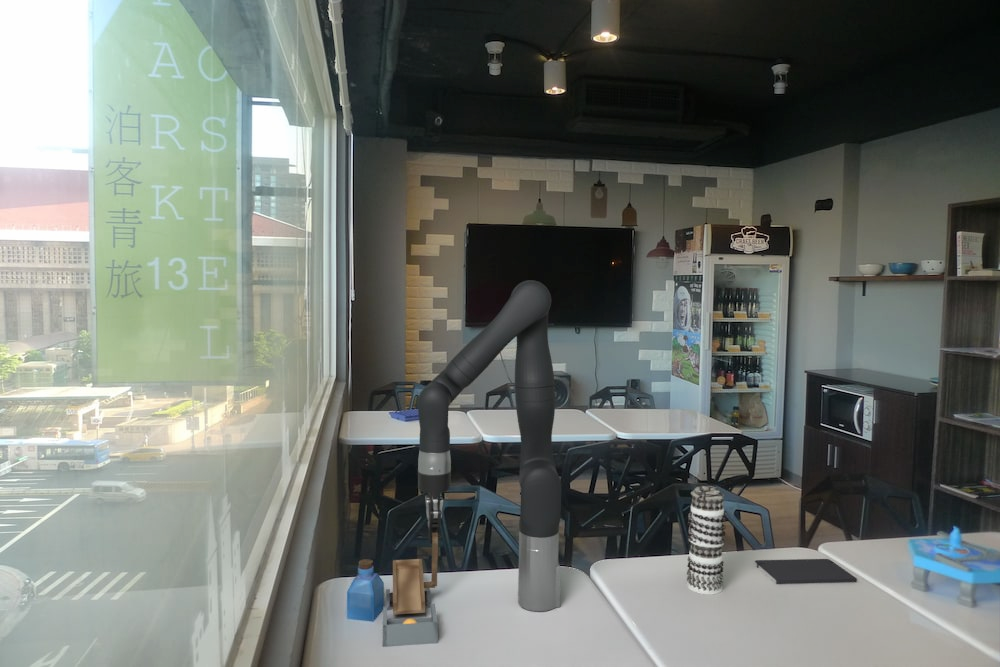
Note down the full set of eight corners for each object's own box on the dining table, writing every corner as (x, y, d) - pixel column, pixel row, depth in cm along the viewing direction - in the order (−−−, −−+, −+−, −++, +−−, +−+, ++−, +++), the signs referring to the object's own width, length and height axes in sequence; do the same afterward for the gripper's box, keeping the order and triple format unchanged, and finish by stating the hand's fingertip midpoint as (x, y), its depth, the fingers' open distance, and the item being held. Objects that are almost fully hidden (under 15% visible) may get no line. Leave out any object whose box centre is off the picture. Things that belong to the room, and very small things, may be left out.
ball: (418, 634, 145) (418, 616, 146) (418, 639, 142) (418, 620, 142) (401, 635, 145) (401, 617, 145) (401, 640, 141) (401, 621, 142)
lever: (434, 568, 168) (435, 515, 165) (439, 611, 152) (440, 554, 148) (392, 570, 166) (392, 517, 163) (392, 614, 150) (393, 556, 147)
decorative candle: (731, 593, 167) (735, 492, 165) (697, 597, 164) (701, 494, 163) (711, 578, 176) (714, 482, 174) (678, 581, 173) (681, 484, 172)
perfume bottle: (373, 621, 150) (373, 568, 149) (347, 618, 152) (346, 565, 151) (383, 609, 156) (383, 557, 156) (358, 606, 158) (358, 555, 157)
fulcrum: (429, 597, 162) (429, 584, 162) (430, 607, 157) (430, 593, 157) (386, 600, 161) (386, 586, 160) (386, 610, 156) (386, 596, 156)
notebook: (776, 586, 172) (856, 584, 174) (776, 580, 172) (856, 578, 174) (753, 565, 185) (828, 564, 187) (753, 560, 185) (828, 558, 187)
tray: (434, 620, 151) (434, 602, 151) (437, 642, 142) (437, 624, 141) (383, 623, 149) (383, 606, 149) (382, 646, 140) (382, 627, 140)
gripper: (453, 476, 153) (452, 552, 154) (448, 461, 166) (447, 531, 167) (419, 477, 151) (418, 553, 153) (417, 462, 165) (416, 532, 166)
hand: (433, 542), depth 160 cm, fingers closed
